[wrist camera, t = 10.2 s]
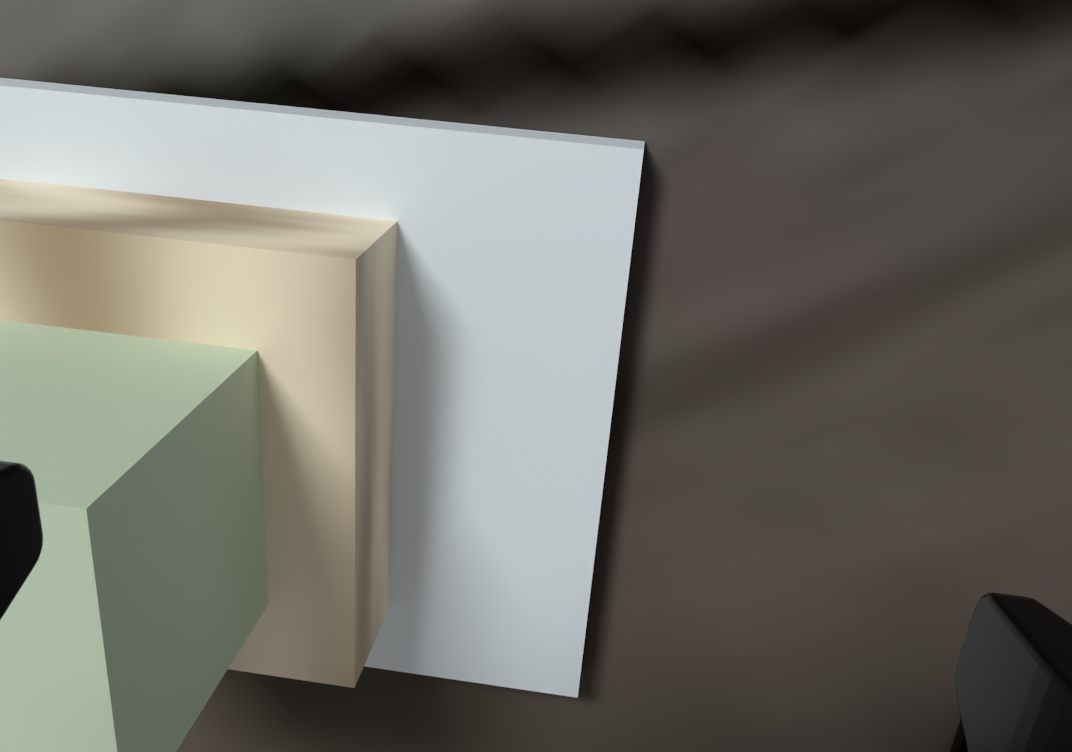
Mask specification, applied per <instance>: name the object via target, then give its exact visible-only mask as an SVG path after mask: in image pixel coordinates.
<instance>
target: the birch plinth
mask: <svg viewBox="0 0 1072 752" xmlns="http://www.w3.org/2000/svg"><path fill="white" fill-rule="evenodd" d="M396 260H397V221H392V220H383V219H374V218H364V217H355V216H346V215H337V214H327V213H318V212H309V211H299V210H290V209H281V208H272V207H262V206H253V205H244V204H234V203H225V202H216V201H207V200H197V199H188V198H179V197H170V196H160V195H151V194H142V193H132V192H123V191H114V190H105V189H95V188H86V187H77V186H67V185H58V184H49V183H40V182H30V181H21V180H12V179H3V178H0V320H5V321H13V322H22V323H30V324H38V325H47V326H55V327H64V328H72V329H81V330H89V331H97V332H106V333H114V334H123V335H131V336H140V337H148V338H156V339H165V340H173V341H182V342H190V343H198V344H207V345H215V346H224V347H232V348H241V349H249V350H257V361H258V384H259V407H260V431H261V454H262V477H263V501H264V524H265V547H266V571H267V594H268V606H267V607H266V609H265V610H264V612H263V614H262V615H261V617H260V618H259V620H258V622H257V623H256V625H255V626H254V628H253V630H252V631H251V633H250V634H249V636H248V637H247V639H246V641H245V642H244V644H243V645H242V647H241V649H240V650H239V652H238V653H237V655H236V657H235V658H234V660H233V661H232V663H231V665H230V666H229V668H228V669H230V670H237V671H244V672H250V673H257V674H264V675H270V676H277V677H284V678H291V679H297V680H304V681H311V682H317V683H324V684H331V685H337V686H344V687H351V688H355V686H356V683H357V681H358V679H359V676H360V674H361V672H362V670H363V667H364V665H365V663H366V660H367V658H368V656H369V653H370V651H371V649H372V646H373V644H374V642H375V639H376V637H377V635H378V632H379V630H380V628H381V626H382V623H383V621H384V619H385V616H386V614H387V612H388V609H389V603H390V554H391V505H392V456H393V407H394V358H395V309H396Z"/></svg>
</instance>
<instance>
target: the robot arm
mask: <svg viewBox="0 0 1072 752" xmlns="http://www.w3.org/2000/svg"><path fill="white" fill-rule="evenodd" d="M42 546H43V532H42V525H41V518H40V511H39V505H38V498H37V491H36V485H35V479H34V475H33V474H32V472H31V470H30V469H29V468H28V467H27V466H25V465H24V464H21V463H15V462H7V461H0V620H1V618H2V617H3V615H4V614H5V612H6V611H7V609H8V607H9V606H10V604H11V603H12V601H13V600H14V598H15V596H16V595H17V593H18V592H19V590H20V589H21V587H22V585H23V584H24V582H25V581H26V579H27V577H28V576H29V574H30V573H31V571H32V570H33V568H34V566H35V565H36V563H37V561H38V559H39V556H40V554H41V550H42ZM956 693H957V698H958V703H959V709H960V714H961V721H960V724H959V727H958V730H957V733H956V736H955V740H954V743H953V746H952V749H951V752H1072V624H1070V623H1069V622H1067V621H1066V620H1064V619H1063V618H1061V617H1060V616H1058V615H1057V614H1055V613H1054V612H1053V611H1051V610H1050V609H1048V608H1047V607H1045V606H1044V605H1042V604H1041V603H1039V602H1038V601H1036V600H1034V599H1032V598H1028V597H1022V596H1015V595H1007V594H999V593H987V594H985V595H984V596H982V597H981V599H980V600H979V602H978V603H977V605H976V608H975V611H974V614H973V617H972V620H971V623H970V626H969V629H968V633H967V636H966V639H965V642H964V645H963V648H962V652H961V655H960V658H959V661H958V665H957V670H956Z"/></svg>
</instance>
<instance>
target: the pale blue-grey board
mask: <svg viewBox="0 0 1072 752" xmlns="http://www.w3.org/2000/svg"><path fill="white" fill-rule="evenodd" d="M644 144H645V141H636V140H626V139H616V138H605V137H595V136H585V135H575V134H565V133H555V132H545V131H534V130H524V129H514V128H504V127H494V126H484V125H474V124H464V123H453V122H443V121H433V120H423V119H413V118H403V117H393V116H383V115H372V114H362V113H352V112H342V111H332V110H322V109H312V108H302V107H291V106H281V105H271V104H261V103H251V102H241V101H231V100H220V99H210V98H200V97H190V96H180V95H170V94H160V93H150V92H139V91H129V90H119V89H109V88H99V87H89V86H79V85H69V84H58V83H48V82H38V81H28V80H18V79H8V78H0V178H3V179H12V180H21V181H30V182H40V183H49V184H58V185H67V186H77V187H86V188H95V189H105V190H114V191H123V192H132V193H142V194H151V195H160V196H170V197H179V198H188V199H197V200H207V201H216V202H225V203H234V204H244V205H253V206H262V207H272V208H281V209H290V210H299V211H309V212H318V213H327V214H337V215H346V216H355V217H364V218H374V219H383V220H392V221H397V260H396V309H395V358H394V407H393V456H392V505H391V554H390V603H389V609H388V612H387V614H386V616H385V619H384V621H383V623H382V626H381V628H380V630H379V632H378V635H377V637H376V639H375V642H374V644H373V646H372V649H371V651H370V653H369V656H368V658H367V660H366V663H365V665H364V666H365V667H372V668H379V669H386V670H392V671H399V672H406V673H413V674H420V675H426V676H433V677H440V678H447V679H454V680H460V681H467V682H474V683H481V684H488V685H494V686H501V687H508V688H515V689H522V690H528V691H535V692H542V693H549V694H556V695H562V696H569V697H576V698H578V692H579V683H580V675H581V667H582V658H583V650H584V642H585V634H586V625H587V617H588V609H589V600H590V592H591V584H592V576H593V567H594V559H595V551H596V542H597V534H598V526H599V518H600V509H601V501H602V493H603V484H604V476H605V468H606V460H607V451H608V443H609V435H610V426H611V418H612V410H613V402H614V393H615V385H616V377H617V368H618V360H619V352H620V344H621V335H622V327H623V319H624V310H625V302H626V294H627V286H628V277H629V269H630V261H631V252H632V244H633V236H634V228H635V219H636V211H637V203H638V194H639V186H640V178H641V170H642V161H643V153H644Z"/></svg>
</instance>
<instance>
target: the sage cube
mask: <svg viewBox="0 0 1072 752" xmlns="http://www.w3.org/2000/svg"><path fill="white" fill-rule="evenodd" d="M0 461H7V462H15V463H21V464H24V465H25V466H27V467H28V468H29V469H30V470H31V472H32V474H33V475H34V479H35V485H36V491H37V498H38V505H39V511H40V518H41V525H42V532H43V546H42V550H41V554H40V556H39V559H38V561H37V563H36V565H35V566H34V568H33V570H32V571H31V573H30V574H29V576H28V577H27V579H26V581H25V582H24V584H23V585H22V587H21V589H20V590H19V592H18V593H17V595H16V596H15V598H14V600H13V601H12V603H11V604H10V606H9V607H8V609H7V611H6V612H5V614H4V615H3V617H2V618H1V620H0V752H176V751H177V749H178V748H179V746H180V744H181V743H182V741H183V740H184V738H185V736H186V735H187V733H188V732H189V730H190V729H191V727H192V725H193V724H194V722H195V721H196V719H197V717H198V716H199V714H200V713H201V711H202V709H203V708H204V706H205V705H206V703H207V701H208V700H209V698H210V697H211V695H212V693H213V692H214V690H215V689H216V687H217V685H218V684H219V682H220V681H221V679H222V677H223V676H224V674H225V673H226V671H227V669H228V668H229V666H230V665H231V663H232V661H233V660H234V658H235V657H236V655H237V653H238V652H239V650H240V649H241V647H242V645H243V644H244V642H245V641H246V639H247V637H248V636H249V634H250V633H251V631H252V630H253V628H254V626H255V625H256V623H257V622H258V620H259V618H260V617H261V615H262V614H263V612H264V610H265V609H266V607H267V606H268V594H267V571H266V547H265V524H264V501H263V477H262V454H261V431H260V407H259V384H258V361H257V350H249V349H241V348H232V347H224V346H215V345H207V344H198V343H190V342H182V341H173V340H165V339H156V338H148V337H140V336H131V335H123V334H114V333H106V332H97V331H89V330H81V329H72V328H64V327H55V326H47V325H38V324H30V323H22V322H13V321H5V320H0Z"/></svg>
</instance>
